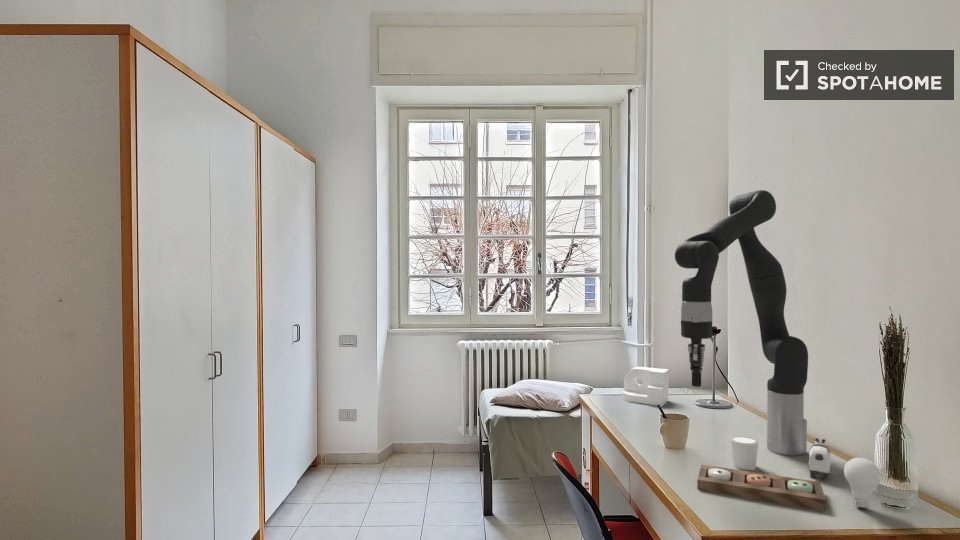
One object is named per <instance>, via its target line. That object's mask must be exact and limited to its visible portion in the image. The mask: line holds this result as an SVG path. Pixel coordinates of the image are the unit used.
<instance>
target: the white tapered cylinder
mask: <svg viewBox="0 0 960 540" xmlns="http://www.w3.org/2000/svg"><path fill="white" fill-rule="evenodd" d="M729 441H730V454H731V465H732V466H733V467H735V468H736V469H737V468H738V469H739V470H740V469H741V470H744V471H751V470H756V467H757V459H758V448H759V440H757V439H755V438H753V437H749V436H742V435H741V436H740V435H739V436H738V435H737V436H731V437H730V438H729Z"/></svg>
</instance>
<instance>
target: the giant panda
mask: <svg viewBox="0 0 960 540" xmlns="http://www.w3.org/2000/svg"><path fill="white" fill-rule="evenodd" d="M808 456H809V458H808V470H809V476H810V478H811V479H816V478H817V473H816V472H819V473H822V480H823V481H829V475H830V470H831V451H830V449H829V446H828V445H827V442H826V439H824V438H823V439H819V438H818V437H816V438H815V439H814V442H813V444H812V445H811V447H810V449H809V455H808Z"/></svg>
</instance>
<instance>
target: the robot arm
mask: <svg viewBox="0 0 960 540" xmlns="http://www.w3.org/2000/svg"><path fill="white" fill-rule="evenodd" d="M728 206H729V207H728V208H729V215H727V216H725V217H723V218H721V219H719V220H718V221H716V222H714V223H713V224H711V225H710V226H708V228H706V229H705V230H704V231H702V232H701V233H698V234H695V235H693V236H691V237H689V238H686V239H685V240H683V241H682V242H680V243H679V244H678V246H676V249H675V251H674V260H675V262H676V264H677V265H678V266H679V267H681V268H682V269H683V268H684V269H693V270H694V269H697V272H696V274H695V276H693V277H689V278H686V279H684V280H683V281H682V285H681V292H682V293H681V307H680V336H681V337H682V338H684V339H690V343H688V345H687V352H688V362H689V364H690V368H689V369H690V371H691V386H692V387H695V388H696V387H698V388H700V387H701V386H702V372H703V366H704V365H703V364H704V360H705V351H706V344H704V343H703V341H702V340H706V339H707V340H708V339H711V338H713V306H712V284H713V281H714V277H715V274H716V270H717V268H718V267H717V266H718V264H719V258H720V254H721V253H722V252H724V251H725V250H726V249H728V247H729V246H731V245H732V243H734V242H735V241H736V240H737V239H738V243H739V247H740V250H741V253H742V257H743V259H744V260H743V261H744V265H745V270H746V273H747V274H746V275H747V278H748V284H749V286H750V291H751V292H750V293H751V295H752V298H753V303H754V307H755V311H756V315H757V320H758V324H759V331H760V332H759V333H760V339H761V348H762V352H763V355H764V357H765V358H766V360H767V361H768V362H769V363H771V364H773V366H774V368H773V376H772V377H771V378H769V379H768V380H767V384H766V385H767V386H766V387H767V388H766V389H767V390H766V391H767V392H766V394H767V395H766V400H767V401H766V404H767V405H766V407H767V408H766V415H767V416H766V449H767V450H769V451H770V452H772V453H775V454H778V455H782V456H783V455H784V456H801V455H803V454H807V452H808V451H807V449H808V447H807V446H808V445H807V442H808V436H807V435H808V433H807V431H808V420H807V419H806V418H804V413H805V411H804V410H805V409H804V407H805V406H804V405H805V403H804V400H805V399H804V398H805V397H804V395H805V393H804V392H805V391H804V390H805V386H806V384H807V381H808V369H809V368H808V367H809V351H808V347H807V345H806V343H805V342H804V341H803V340H802V339H801V338H799V337H796V336H791V335H790V333H789V330H788V327H787V324H786V320H785V319H786V318H785V305H786V300H787V283H786V278H785V274H784V270H783V267H782V264H781V263H780V261H778V259H777V258H776V257H775V256H774V255H773V254H772V252H770V251H769V250H768V249H767V248H766V247H765V246H764V244H763V243H762V242H761V241H760V239H759V237H758V236H757V234H756V231H755V228H756V227H758V226H760V225H761V224H764V223H766V222H768V221H770V220H771V219H773V217H774V216H775V214H776V211H777V203H776V199H775V197H774V196H773V194H772V193H771V192H769V191H768V190H765V189H764V190H763V189H759V190H755V191H751V192H746V193H742V194H739V195H735V196H733V197H731V199H730V201H729V205H728Z"/></svg>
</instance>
